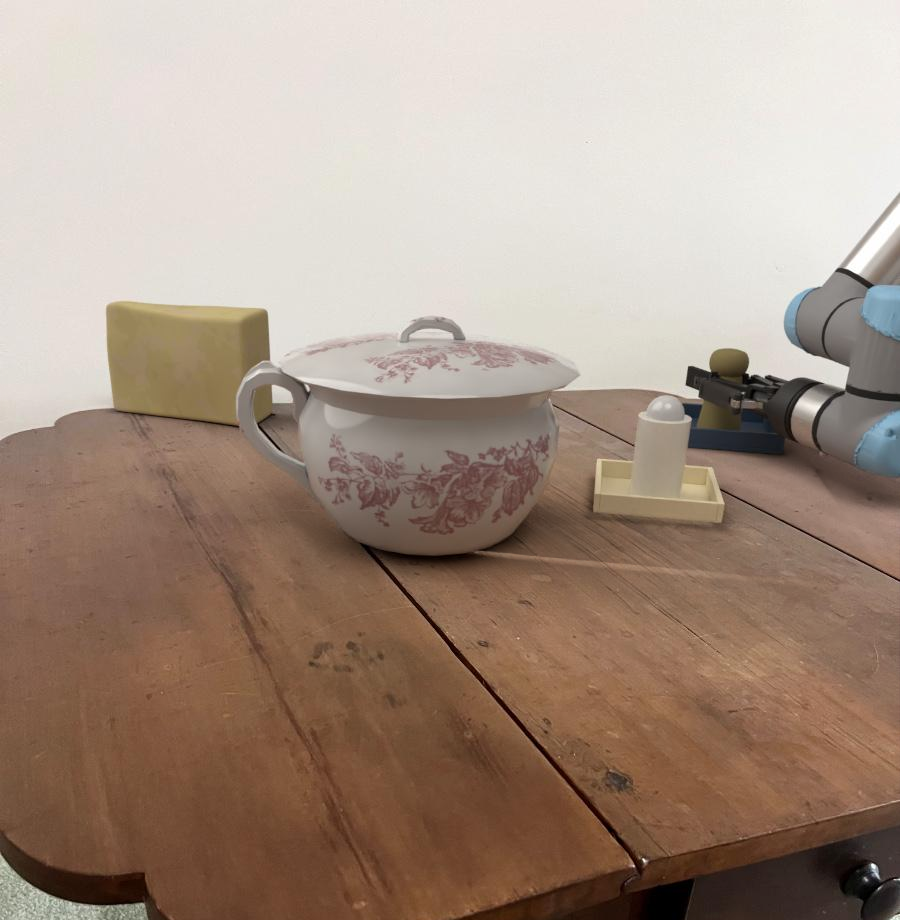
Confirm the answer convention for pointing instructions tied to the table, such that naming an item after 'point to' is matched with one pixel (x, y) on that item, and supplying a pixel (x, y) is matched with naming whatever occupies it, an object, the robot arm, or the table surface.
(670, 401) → the salt shaker
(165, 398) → the cheese
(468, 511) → the chamber pot
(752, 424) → the dark tray
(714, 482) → the light tray
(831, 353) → the robot arm
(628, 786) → the table surface
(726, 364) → the olive tapered knobbed cylinder
